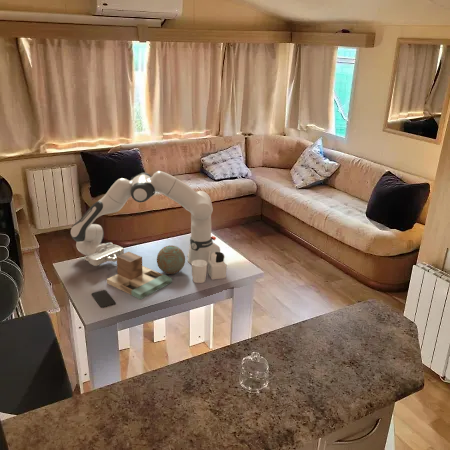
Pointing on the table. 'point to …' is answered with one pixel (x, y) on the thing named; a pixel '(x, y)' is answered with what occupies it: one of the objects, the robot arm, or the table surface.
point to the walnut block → (129, 265)
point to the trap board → (140, 283)
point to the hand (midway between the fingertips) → (116, 259)
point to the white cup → (199, 271)
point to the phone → (103, 298)
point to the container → (217, 266)
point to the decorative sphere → (170, 259)
